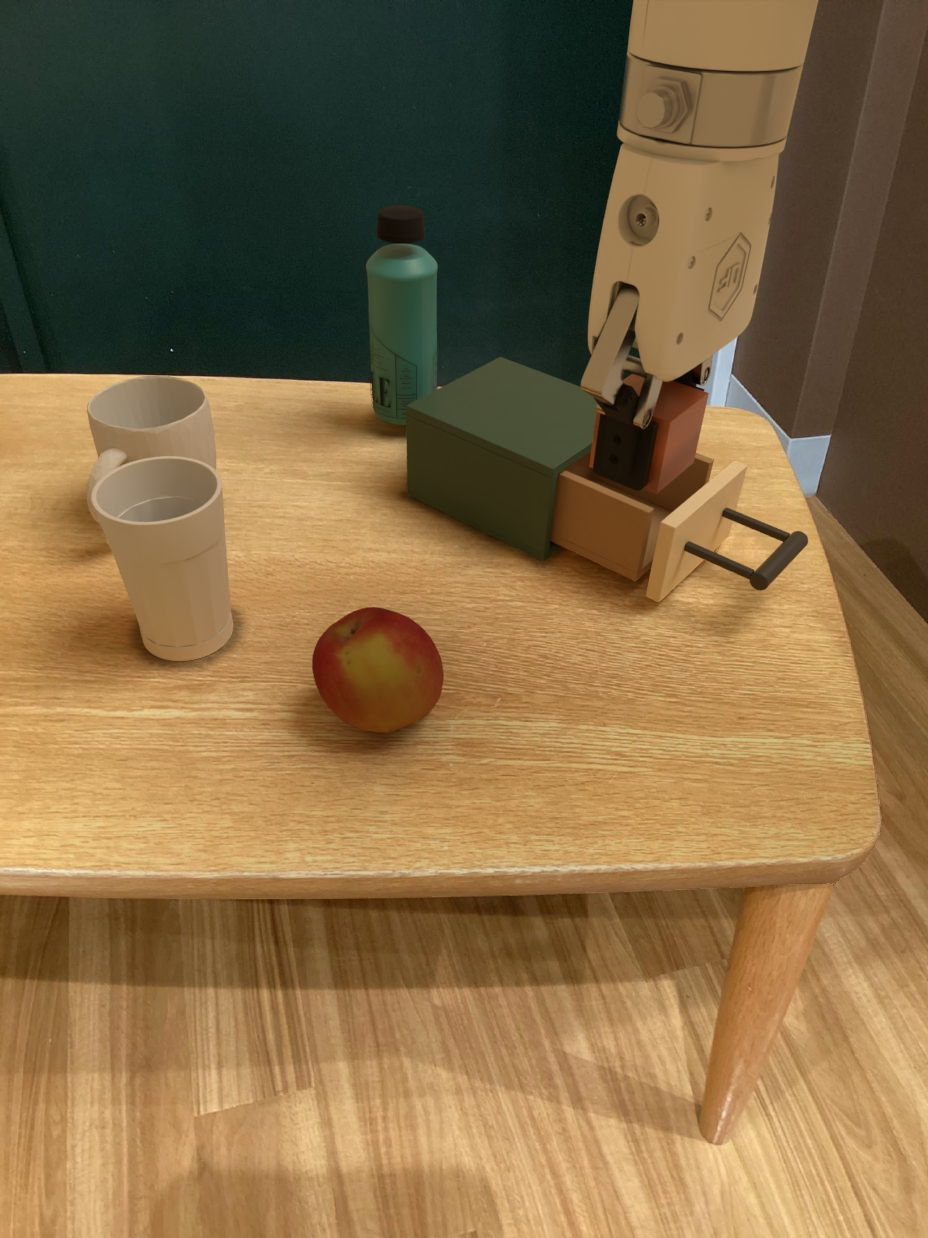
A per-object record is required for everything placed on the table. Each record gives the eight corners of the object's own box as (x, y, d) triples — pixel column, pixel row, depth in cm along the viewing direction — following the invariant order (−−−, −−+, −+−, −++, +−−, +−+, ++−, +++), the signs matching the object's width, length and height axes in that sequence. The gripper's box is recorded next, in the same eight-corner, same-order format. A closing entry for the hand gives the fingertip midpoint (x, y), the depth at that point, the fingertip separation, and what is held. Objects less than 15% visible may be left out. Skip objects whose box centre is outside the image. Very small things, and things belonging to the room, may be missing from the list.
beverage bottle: (450, 419, 91) (455, 206, 78) (412, 447, 87) (411, 227, 74) (396, 401, 94) (392, 192, 81) (356, 427, 89) (346, 211, 76)
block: (693, 462, 53) (709, 392, 50) (656, 494, 51) (670, 422, 48) (628, 437, 55) (639, 368, 52) (588, 466, 53) (598, 395, 50)
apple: (388, 657, 65) (385, 566, 59) (464, 722, 60) (468, 630, 55) (296, 707, 61) (285, 614, 56) (371, 781, 56) (366, 687, 51)
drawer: (806, 570, 72) (831, 496, 68) (740, 642, 66) (763, 566, 61) (591, 477, 82) (601, 408, 77) (514, 533, 75) (520, 460, 71)
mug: (156, 472, 82) (133, 366, 75) (244, 493, 80) (229, 386, 73) (61, 550, 73) (26, 438, 66) (159, 577, 71) (132, 463, 64)
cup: (263, 607, 68) (243, 467, 60) (212, 679, 62) (183, 534, 55) (166, 587, 70) (134, 447, 62) (108, 655, 64) (64, 510, 56)
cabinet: (625, 497, 81) (641, 409, 76) (542, 562, 74) (552, 468, 68) (495, 441, 88) (500, 356, 82) (406, 495, 80) (405, 405, 75)
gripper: (692, 156, 34) (623, 554, 46) (856, 89, 44) (765, 428, 56) (527, 121, 38) (502, 500, 49) (715, 66, 48) (657, 391, 60)
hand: (643, 459), depth 53 cm, fingers closed on block, 4 cm apart
